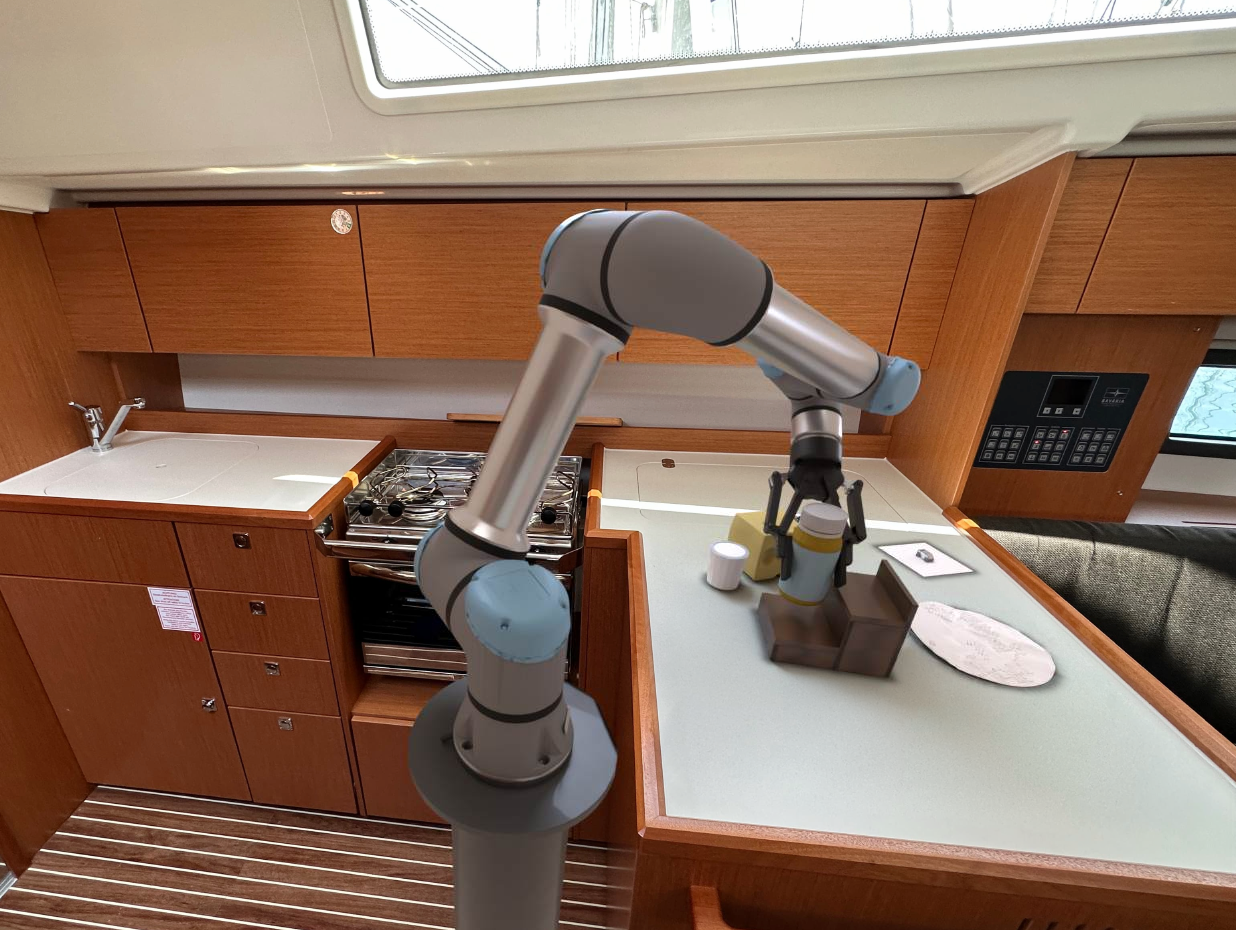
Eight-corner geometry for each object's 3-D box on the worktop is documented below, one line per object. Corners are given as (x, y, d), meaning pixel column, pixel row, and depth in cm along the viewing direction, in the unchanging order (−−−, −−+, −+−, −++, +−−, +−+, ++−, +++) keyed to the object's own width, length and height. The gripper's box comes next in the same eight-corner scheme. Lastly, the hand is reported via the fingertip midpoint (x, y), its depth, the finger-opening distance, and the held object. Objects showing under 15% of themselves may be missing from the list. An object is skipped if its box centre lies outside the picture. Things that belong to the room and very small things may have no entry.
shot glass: (697, 582, 109) (703, 549, 105) (712, 568, 113) (719, 536, 110) (732, 596, 105) (740, 562, 102) (747, 581, 109) (755, 548, 106)
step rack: (769, 659, 89) (790, 588, 83) (757, 611, 101) (774, 545, 95) (889, 677, 87) (919, 605, 81) (862, 626, 98) (887, 559, 92)
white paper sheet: (923, 576, 113) (926, 570, 113) (877, 546, 124) (880, 540, 123) (973, 571, 116) (976, 564, 115) (924, 542, 126) (927, 536, 126)
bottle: (779, 579, 97) (802, 497, 90) (824, 591, 94) (852, 507, 88) (774, 599, 92) (798, 514, 85) (822, 613, 89) (851, 525, 82)
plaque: (878, 611, 101) (881, 604, 101) (972, 603, 106) (975, 596, 105) (978, 694, 84) (982, 686, 84) (1086, 680, 88) (1091, 672, 88)
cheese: (801, 577, 112) (814, 530, 107) (751, 582, 109) (763, 535, 104) (768, 550, 120) (779, 506, 116) (722, 555, 118) (731, 510, 113)
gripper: (871, 461, 97) (872, 596, 90) (746, 449, 100) (738, 578, 93) (893, 440, 89) (896, 585, 83) (757, 428, 93) (750, 567, 86)
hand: (812, 581), depth 88 cm, fingers closed on bottle, 7 cm apart
